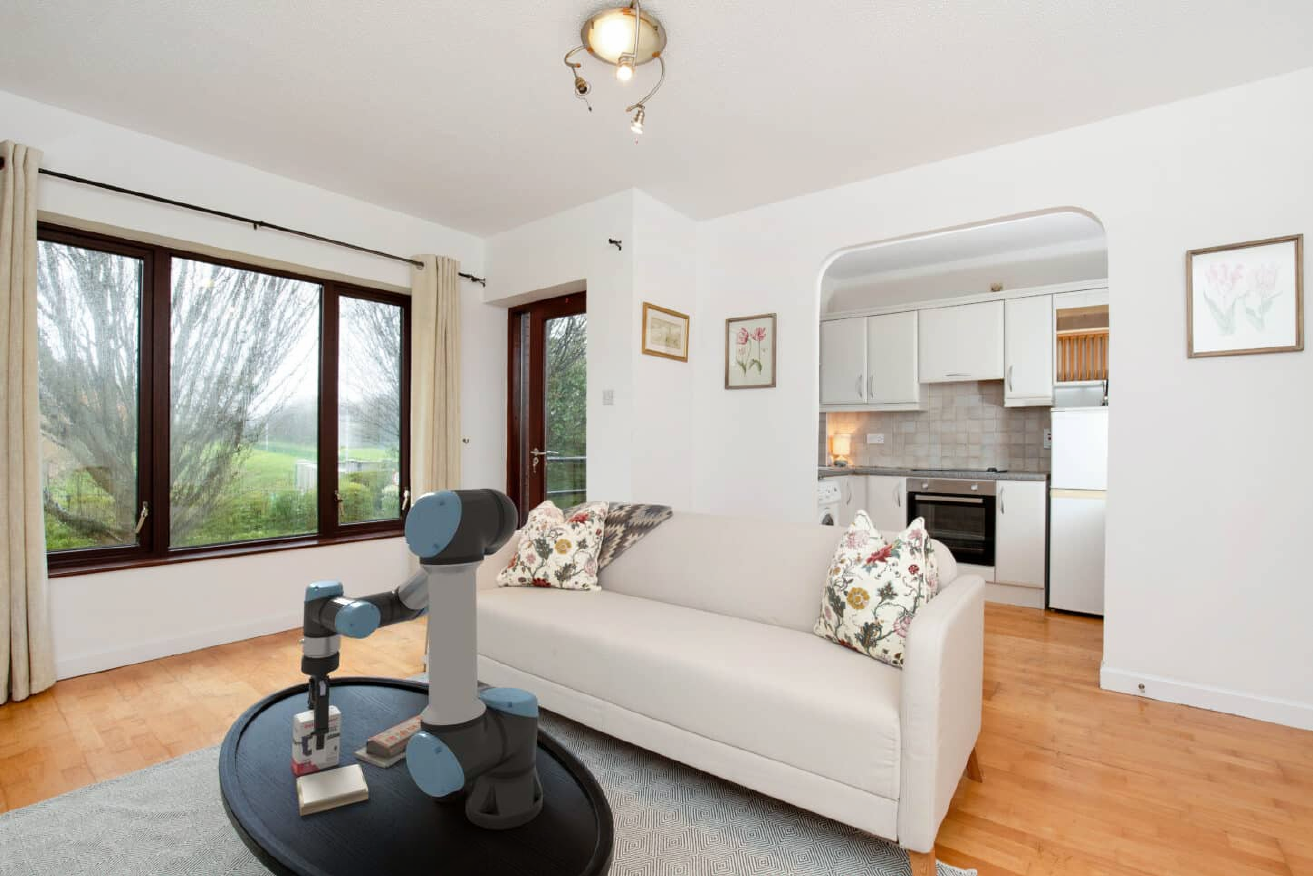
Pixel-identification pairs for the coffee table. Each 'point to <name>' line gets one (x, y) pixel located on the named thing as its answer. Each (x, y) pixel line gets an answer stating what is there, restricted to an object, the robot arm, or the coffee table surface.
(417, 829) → the coffee table surface
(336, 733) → the ink box
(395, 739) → the packaged product
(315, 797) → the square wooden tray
